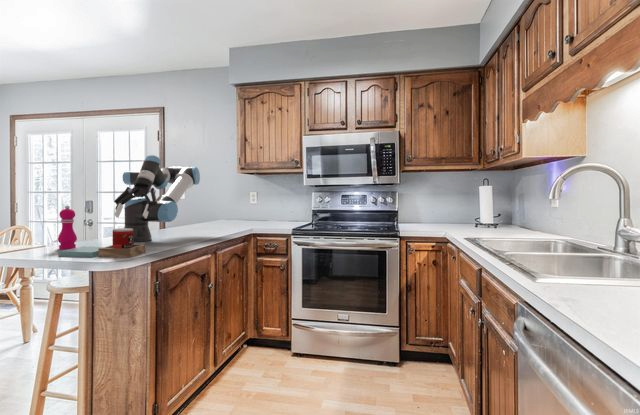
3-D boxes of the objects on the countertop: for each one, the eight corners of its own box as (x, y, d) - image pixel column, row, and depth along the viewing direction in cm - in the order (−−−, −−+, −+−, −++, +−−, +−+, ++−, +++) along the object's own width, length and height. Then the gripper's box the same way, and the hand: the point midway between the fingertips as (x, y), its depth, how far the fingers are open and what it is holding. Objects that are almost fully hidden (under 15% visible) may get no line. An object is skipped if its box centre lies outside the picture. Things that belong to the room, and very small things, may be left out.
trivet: (82, 250, 158) (82, 246, 158) (113, 251, 158) (113, 247, 158) (58, 256, 144) (58, 251, 144) (92, 257, 144) (92, 252, 144)
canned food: (124, 256, 147) (124, 230, 147) (107, 255, 149) (107, 229, 148) (137, 253, 154) (137, 228, 154) (121, 252, 156) (121, 227, 156)
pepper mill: (75, 246, 169) (75, 205, 168) (78, 248, 164) (78, 205, 163) (56, 248, 164) (56, 205, 163) (59, 250, 159) (59, 205, 158)
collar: (117, 251, 158) (117, 243, 158) (145, 252, 158) (145, 244, 158) (98, 256, 145) (98, 248, 145) (128, 257, 145) (128, 249, 145)
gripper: (116, 175, 175) (100, 211, 164) (166, 177, 175) (153, 212, 163) (124, 185, 182) (108, 220, 170) (171, 186, 181) (159, 221, 169)
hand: (130, 216), depth 166 cm, fingers open, 13 cm apart
